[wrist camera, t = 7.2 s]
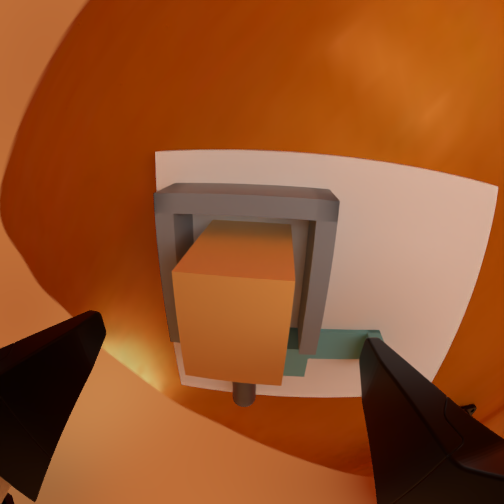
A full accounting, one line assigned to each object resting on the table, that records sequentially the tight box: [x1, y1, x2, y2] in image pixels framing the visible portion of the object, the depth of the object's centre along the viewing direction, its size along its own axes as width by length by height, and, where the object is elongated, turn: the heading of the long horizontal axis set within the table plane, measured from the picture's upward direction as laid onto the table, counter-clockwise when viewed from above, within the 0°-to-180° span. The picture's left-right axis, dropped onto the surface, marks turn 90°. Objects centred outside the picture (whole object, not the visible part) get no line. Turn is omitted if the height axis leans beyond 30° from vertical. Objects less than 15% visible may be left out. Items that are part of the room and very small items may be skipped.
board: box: [155, 149, 498, 397], centre depth 15 cm, size 15×18×1 cm
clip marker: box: [289, 328, 384, 377], centre depth 15 cm, size 2×5×2 cm, turn 89°
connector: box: [172, 220, 295, 407], centre depth 13 cm, size 11×4×6 cm, turn 178°
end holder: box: [153, 183, 340, 355], centre depth 13 cm, size 7×7×2 cm
